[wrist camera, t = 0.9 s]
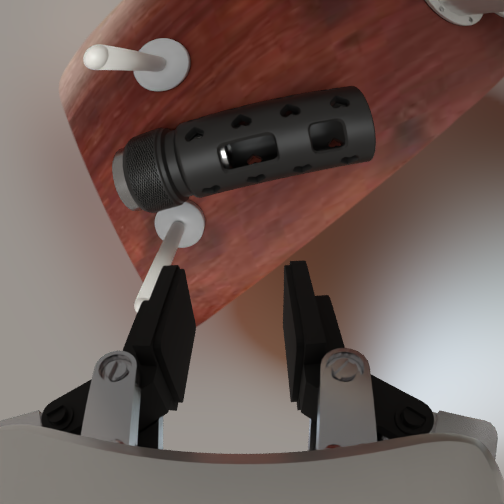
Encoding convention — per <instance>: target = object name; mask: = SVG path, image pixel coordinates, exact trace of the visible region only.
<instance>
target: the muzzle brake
mask: <svg viewBox="0 0 504 504" xmlns="http://www.w3.org/2000/svg"><path fill="white" fill-rule="evenodd" d="M332 140H335V141H337V142H338V143H340V144H341V146H335V147H329V144H330V143H331V142H332ZM375 146H376V138H375V128H374V123H373V118H372V115H371V111H370V108H369V106H368V103H367V101H366V99H365V97H364V95H363V94H362V92H361V91H360V90H359V89H358V88H357V87H355V86H348V87H341V88H334V89H329V90H320V91H314V92H308V93H302V94H297V95H291V96H287V97H284V98H276V99H271V100H267V101H262V102H258V103H253V104H249V105H245V106H242V107H238V108H233V109H229V110H225V111H222V112H218V113H214V114H211V115H207V116H204V117H201V118H198V119H194V120H191V121H187V122H184V123H181V124H179V125H178V126H177V128H176V130H173V131H171V130H170V129H168V128H165V129H164V128H158V129H155V130H152V131H149V132H146V133H144V134H141V135H138V136H136V137H133V138H132V139H130V140H129V142H128V143H127V144H126V146H125V147H124V148H121V149H119V150H118V151H117V152H116V154H115V155H114V159H113V165H112V170H113V179H114V183H115V187H116V190H117V192H118V195H119V197H120V198H121V200H122V202H123V203H124V204H125V205H126V206H127V207H128V208H129V209H130V210H132V211H140V210H144V211H147V212H151V213H155V212H159V211H162V210H166V209H170V208H173V207H177V206H180V205H183V203H184V202H186V201H187V200H188V198H189V196H192V195H194V196H195V197H199V198H201V197H205V196H209V195H213V194H216V193H220V192H224V191H229V190H233V189H237V188H241V187H245V186H249V185H254V184H258V183H262V182H267V181H271V180H276V179H280V178H285V177H289V176H294V175H299V174H304V173H309V172H314V171H319V170H324V169H329V168H334V167H339V166H345V165H350V164H356V163H362V162H367V161H370V160H372V158H373V156H374V153H375ZM253 156H255V157H257V158H259V159H261V160H262V161H261V162H259V163H256V162H255V163H253V164H251V165H249V164H248V163H249V161H250V160H251V159H252V157H253Z"/></svg>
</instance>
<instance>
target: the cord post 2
mask: <svg viewBox="0 0 504 504" xmlns="http://www.w3.org/2000/svg"><path fill="white" fill-rule="evenodd" d="M204 227H205V217H204V214H203V212H202V210H201V208H200V207H199V206H198V205H197V204H196V203H194V202H193V201H191V200H187V201H186V202H184V203H183V205H180V206H177V207H173V208H170V209H166V210H162V211H159V212H158V213H157V215H156V218H155V228H156V231H157V233H158V235H159V237H160V238H161V239H162V240H163V242H162V244H161V247H160V249H159V251H158V253H157V255H156V257H155V259H154V261H153V263H152V265H151V267H150V270H149V272H148V274H147V276H146V278H145V280H144V283H143V285H142V287H141V289H140V292H139V294H138V296H137V298H136V301H135V304H134V307H135V310H136V312H137V313H138V310H139V308H140V305H141V303H142V302H143V301H144V300H149V299H150V296H151V294H152V291H153V289H154V286H155V284H156V281H157V279H158V276H159V274H160V272H161V269H162V267H163V266H167V265H171V263H172V261H173V258H174V256H175V253H176V251H177V248H178V247H179V248H184V247H189V246H191V245H193V244H195V243H196V242H197V241H198V240H199V239H200V238H201V236H202V234H203V230H204Z"/></svg>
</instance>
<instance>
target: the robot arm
mask: <svg viewBox="0 0 504 504" xmlns="http://www.w3.org/2000/svg"><path fill="white" fill-rule="evenodd" d="M425 1H426V2H427V4H428V5H429V6H430V7H431V8H432V9H433V10H434V11H435V12H436V13H437V14H438V15H439V16H441V17H442V18H443V19H445V20H447V21H448V22H451V23H453V24H456V25H460V26H468V25H473V24H475V23H477V22H478V21H479V20H480V19H481V17H482V16H483V14H484V13H493V12H494V13H495V14H497V15H499V16H501V17H503V18H504V0H425ZM283 307H284V308H283V330H284V339H285V349H286V358H287V368H288V378H289V388H290V398H291V402H297V409H298V410H301V412H302V413H303V414H304V415H306V416H307V417H309V418H310V425H309V441H308V451H302V452H289V453H269V454H215V453H214V454H213V453H195V452H181V451H171V450H163V416H164V415H165V414H167V413H168V411H169V410H175V411H176V410H177V407H178V402H181V403H182V402H183V399H184V394H185V388H186V382H187V375H188V370H189V364H190V359H191V353H192V348H193V342H194V337H195V331H196V324H195V319H194V314H193V309H192V305H191V300H190V295H189V290H188V285H187V280H186V275H185V270H184V269H180V268H179V266H178V265H167V266H163V267H162V269H161V272H160V274H159V276H158V279H157V281H156V284H155V286H154V289H153V291H152V294H151V296H150V299H149V300H144V301H143V302H142V303H141V305H140V308H139V310H138V313H137V315H136V318H135V320H134V323H133V325H132V328H131V330H130V333H129V335H128V338H127V340H126V343H125V346H124V348H123V351H113V352H110V353H108V354H105V355H104V356H103V357H101V358H100V359H99V361H98V362H97V363H96V365H95V368H94V372H93V376H92V379H91V380H90V381H88V382H86V383H84V384H83V385H81V386H79V387H77V388H75V389H74V390H72V391H70V392H68V393H67V394H65V395H63V396H61V397H59V398H58V399H56V400H54V401H52V402H51V403H50V404H48V405H47V406H46V408H45V409H44V411H43V413H41V412H40V411H39V410H38V411H35V412H31V413H28V414H24V415H20V416H17V417H13V418H9V419H5V420H2V421H0V504H504V480H503V477H502V475H501V472H500V470H499V467H498V465H497V463H496V461H495V457H496V448H497V439H498V438H497V431H496V429H495V427H494V426H493V425H492V424H491V423H489V422H487V421H484V420H479V419H475V418H470V417H465V416H461V415H456V414H452V413H448V412H444V411H439V412H438V413H434V412H432V410H431V409H430V408H429V406H428V405H426V404H425V403H424V402H422V401H420V400H418V399H416V398H414V397H413V396H410V395H409V394H407V393H405V392H403V391H401V390H399V389H397V388H395V387H394V386H392V385H390V384H388V383H386V382H384V381H382V380H380V379H379V378H377V377H375V376H373V375H371V374H370V367H369V363H368V360H367V359H366V358H365V357H364V355H362V354H361V353H359V352H358V351H355V350H353V349H348V348H345V347H344V344H343V340H342V337H341V333H340V330H339V327H338V323H337V320H336V316H335V313H334V310H333V306H332V303H331V300H330V297H329V296H328V295H323V296H315V295H314V291H313V287H312V283H311V280H310V276H309V272H308V268H307V264H306V261H290V265H285V266H284V305H283Z"/></svg>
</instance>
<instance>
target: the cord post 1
mask: <svg viewBox="0 0 504 504" xmlns="http://www.w3.org/2000/svg"><path fill="white" fill-rule="evenodd" d="M83 60H84V64H85V66H86V67H87V68H89V69H92V70H132V71H134V75H135V78H136V80H137V81H138V82H139V84H140V85H142V86H143V87H144V88H146V89H148V90H151V91H165V90H170V89H172V88H175V87H176V86H178V85H179V84H180V83H182V82H183V81H184V79H185V78H186V76H187V75H188V72H189V70H190V62H191V61H190V56H189V53H188V51H187V50H186V48H185V47H184V46H183V45H182V44H180V43H178V42H176V41H174V40H172V39H167V38H160V39H155V40H153V41H150V42H148V43H147V44H145V45H144V46H143V47H142V48H141V49H140V50H139V52H138V51H134V50H129V49H124V48H118V47H113V46H107V45H101V44H97V45H93V46H91V47H90V48H89V49H87V51H86V52H85V54H84V58H83Z"/></svg>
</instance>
